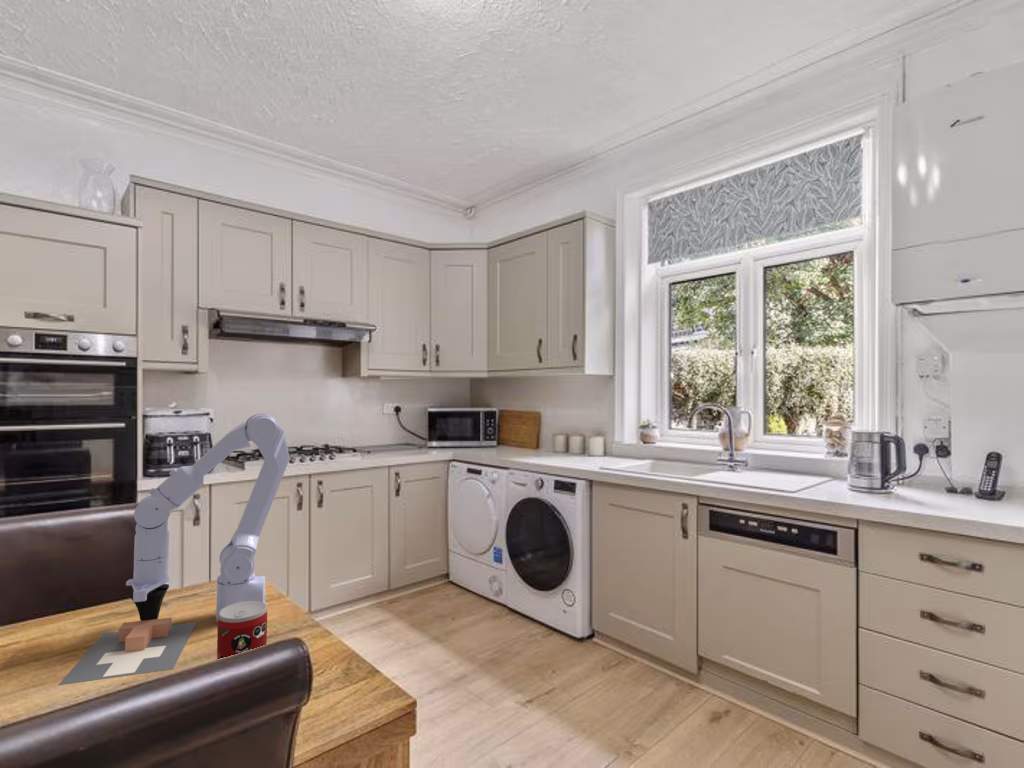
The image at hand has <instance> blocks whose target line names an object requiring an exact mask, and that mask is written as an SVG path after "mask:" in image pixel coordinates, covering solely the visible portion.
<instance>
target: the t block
mask: <svg viewBox="0 0 1024 768" xmlns="http://www.w3.org/2000/svg"><path fill="white" fill-rule="evenodd" d="M171 625H172V617H165V618H164V617H163V618H158V619H153V620H144V621H141V620H137V621H135V620H134V621H128V622H123V623H122V625H120V627H119V628H118V631H119V634H118V642H125V652H131V651H139V650H145V648H146V647H147V645H148V644H149V642H150V641H151V639H152V638H159V637H167V636H168V634H169V633H170V631H171Z"/></svg>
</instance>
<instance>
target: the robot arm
mask: <svg viewBox="0 0 1024 768" xmlns="http://www.w3.org/2000/svg"><path fill="white" fill-rule="evenodd" d="M250 441H251V442H253V444H254V445H255V446H257V448H258V450H259V452H260V454H261V455H262V457H263V459H264V460H263V464H262V466H261V468H260V470H259V473H258V476H257V478H256V481H255V483H254V485H253V488H252V490H251V493H250V496H249V499H248V500H247V503H246V505H245V508H244V511H243V513H242V516H241V518H240V520H239V523H238V525H237V528H236V530H235V532H234V533H233V535H232V537H231V540H230V541H229V543H228V544H227V545H225V547H223V548H222V550H221V552H220V554H219V563H220V564H219V565H220V568H219V569H220V570H219V571H220V575H219V576H217V579H216V606H215V607H216V610H215V611H216V612H215V619H216V623H218V615H219V612H220V610H222V609H223V608H225V607H227V606H229V605H232V604H235V603H239V602H245V601H259V602H263V603H265V604H266V605H267V602H266V576H265V575H262V576H259V575H256V573H255V571H254V569H255V564H256V563H255V555H256V552H257V548H258V544H259V539H260V535H261V533H262V531H263V529H264V528H263V527H264V525H265V523H266V520H267V518H268V515H269V512H270V510H271V507H272V505H273V503H274V500H275V498H276V497H275V496H276V495H277V492H278V489H279V487H280V484H281V482H282V479H283V477H284V475H285V471H286V469H287V467H288V463H289V461H290V453H289V450H288V445H287V440H286V436H285V431H284V429H283V428H282V426H281V425H280V424H279V422H278V420H276V418H275V417H273V416H271V415H268V414H265V413H256V414H253V415H251V416H250V417H249V418H247V420H246V421H245V422H244V421H243V422H241V423H240V424H238V425H237V426H235V427H234V428H233V429H231V430H230V431H228V433H226V434H225V435H224V436H222V438H221V439H219V440H218V441H217V442H216V443H215V444H214V445H213V446H212V447H211V448H210V449H208V451H207V452H206V453H204V454H203V455H202V456H201V457H200V458H199V459H198V460H197V461H196V462H194V464H193V465H186V466H185V465H184V466H180V467H179V468H173V469H172V470H171V471H169V473H168V475H170V476H169V477H167V478H166V479H165V480H164V481H163V482H161V483H160V484H159V485H158V486H157V487H156V488H154V487H152V488H151V489H150V490H148V493H149V494H150V495H147V496H145V497H143V498H142V499H141V500H140V501H139V503H138V504H137V506H136V507H135V510H134V512H133V517H134V520H135V523H136V524H135V528H134V529H135V535H134V541H133V542H134V546H133V577H132V578H130V579H128V580H127V581H126V582H125V586H127V587H129V586H131V587H132V589H133V591H132V592H131V594H130V599H131V601H132V603H134V605H135V607H136V608H137V611H138V615H139V619H140V620H139V621H144V620H153V619H159V615H160V611H161V607H162V603H163V600H164V598H165V595H166V593H167V592H168V590H169V588H170V585H169V584H168V582H169V580H170V575H169V546H170V545H169V543H170V532H169V527H168V524H169V517H170V514H171V512H172V511H173V510H176V509H178V508H180V507H181V506H182V505H183V504H184V503H185V502H186V501H188V499H190V498H191V497H192V496H193V495H194V494H195V493H197V492H198V490H200V489H202V488H203V486H204V482H205V480H204V479H205V476H206V475H207V474H208V473H209V472H210V471H212V470H213V469H215V467H217V466H218V465H219V464H221V463H222V462H223V461H224V460H225V459H226V458H227V457H228V456H230V455H231V454H232V453H233V452H235V451H237V450H239V449H240V450H241V449H244V448H248V447H251V446H252V445H251V444H250Z"/></svg>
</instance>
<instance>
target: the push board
mask: <svg viewBox="0 0 1024 768" xmlns="http://www.w3.org/2000/svg"><path fill="white" fill-rule="evenodd" d="M196 625H197V622H196V621H195V622H189V623H180V624H171V631H170V633H169V634H168V636H167V637H159V638H152V639H151V641H150V642H149V644H148V645H147V647H146V648H145V650H139V651H131V652H125V642H118V634H119V630H118V631H111V632H110V631H109V632H103V633H102V635H101V636H100V637H99V638H98V639H97V640H96V641H95V642H94V644H93V645H91V647H90V648H89V649H88V651H87V652H86V653H85V654H84V655H83V656H82V657H81V658H80V660H79V661H78V662H77V663H76V664H75V665H74V666H73V667H72V668H71V670H70V671H69V672H68V673H67V674H66V675H65V677H64V678H63V679H62V680H61V681H60V682H59V683H58V686H61V685H63V686H64V685H69V684H71V685H72V684H76V683H83V682H90V681H99V680H105V679H106V680H107V679H113V678H114V679H115V678H118V677H119V678H121V677H126V676H134V675H142V674H148V673H155V672H162V671H163V672H164V671H169V670H174V668H175V667H176V663H177V662H178V660H179V658H180V656H181V655H182V653H183V651H184V650H185V649H184V648H185V646H186V644H187V643H188V642H189V641H188V640H189V639H190V637H191V635H192V633H193V631H194V630H195V627H196Z"/></svg>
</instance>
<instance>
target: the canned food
mask: <svg viewBox="0 0 1024 768" xmlns="http://www.w3.org/2000/svg"><path fill="white" fill-rule="evenodd" d="M267 634H268V605H267V603H266V604H265V603H263V602H259V601H245V602H239V603H235V604H232V605H229V606H227V607H225V608H223V609H222V610H220V612H219V615H218V622H217V636H216V637H217V640H216V642H217V643H216V644H217V645H216V646H217V648H216V660H217V659H220V658H224V657H228V656H231V655H235V654H238V653H241V652H244V651H247V650H250V649H254V648H257V647H260V646H263V645H266V646H267V639H268V638H267V636H268V635H267Z"/></svg>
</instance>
